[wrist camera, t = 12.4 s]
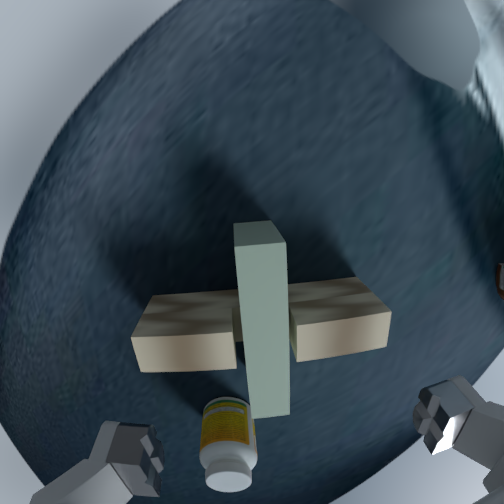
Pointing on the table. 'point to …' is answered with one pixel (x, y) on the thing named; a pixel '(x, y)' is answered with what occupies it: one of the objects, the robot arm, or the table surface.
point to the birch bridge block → (230, 326)
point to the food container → (500, 279)
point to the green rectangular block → (264, 315)
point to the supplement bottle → (228, 444)
